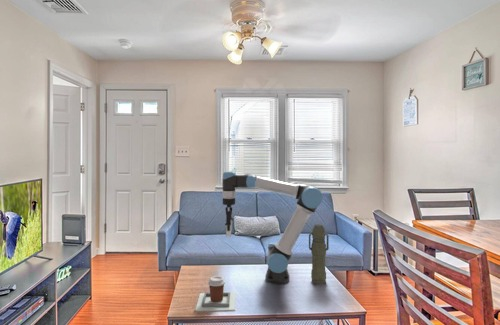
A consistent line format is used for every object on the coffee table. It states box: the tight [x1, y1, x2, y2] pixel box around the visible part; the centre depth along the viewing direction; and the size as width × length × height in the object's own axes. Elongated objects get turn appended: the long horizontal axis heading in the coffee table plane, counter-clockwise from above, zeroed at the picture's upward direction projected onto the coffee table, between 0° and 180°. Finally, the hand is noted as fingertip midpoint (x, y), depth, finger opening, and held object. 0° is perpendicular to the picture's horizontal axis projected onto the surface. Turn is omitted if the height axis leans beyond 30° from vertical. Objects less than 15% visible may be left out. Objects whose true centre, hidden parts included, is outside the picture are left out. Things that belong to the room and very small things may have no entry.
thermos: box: [308, 224, 330, 286], centre depth 195 cm, size 9×12×35 cm
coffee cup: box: [207, 275, 226, 303], centre depth 168 cm, size 9×9×12 cm
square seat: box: [194, 291, 237, 312], centre depth 168 cm, size 20×20×2 cm
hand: (229, 233), depth 188 cm, fingers open, 13 cm apart
